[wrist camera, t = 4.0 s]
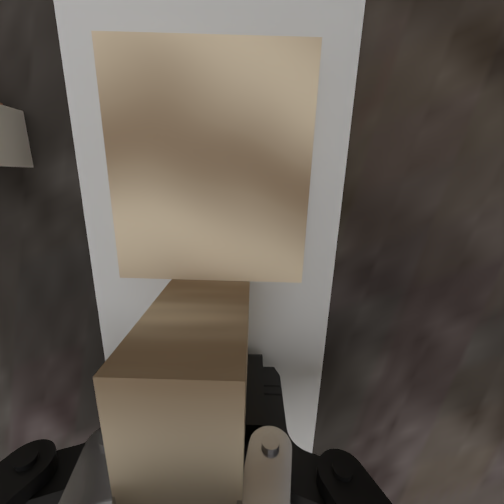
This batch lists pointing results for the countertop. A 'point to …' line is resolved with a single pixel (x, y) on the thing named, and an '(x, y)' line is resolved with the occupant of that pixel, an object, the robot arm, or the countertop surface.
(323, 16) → the mat
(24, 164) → the tile
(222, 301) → the turner
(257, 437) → the robot arm
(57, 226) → the countertop surface
